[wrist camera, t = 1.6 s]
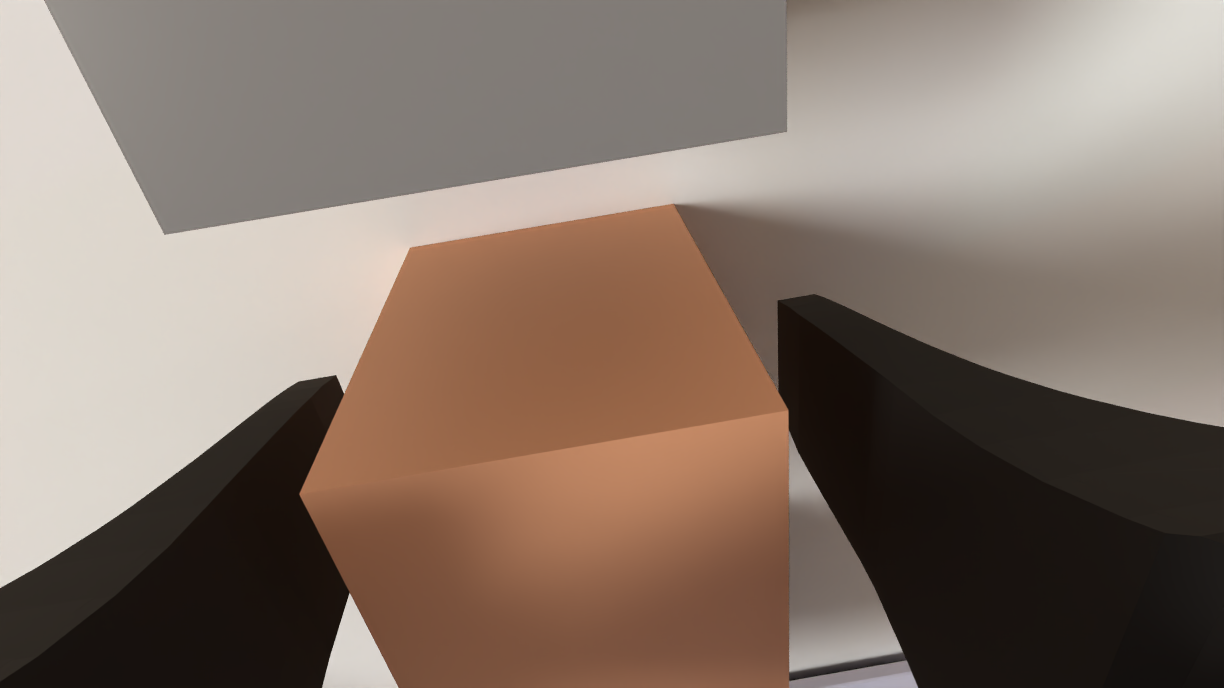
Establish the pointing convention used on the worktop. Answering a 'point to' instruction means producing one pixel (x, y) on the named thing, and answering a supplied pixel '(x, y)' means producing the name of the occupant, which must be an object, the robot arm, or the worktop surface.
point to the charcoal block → (411, 92)
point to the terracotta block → (562, 468)
